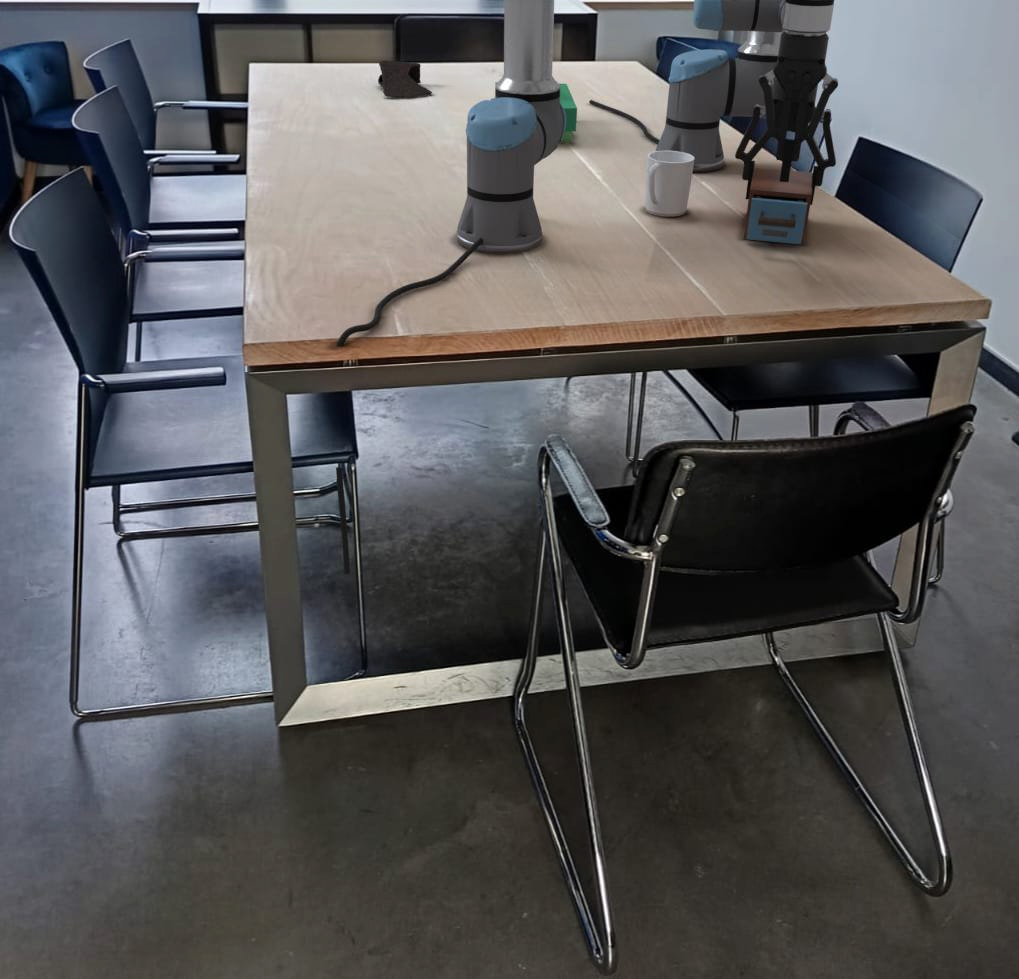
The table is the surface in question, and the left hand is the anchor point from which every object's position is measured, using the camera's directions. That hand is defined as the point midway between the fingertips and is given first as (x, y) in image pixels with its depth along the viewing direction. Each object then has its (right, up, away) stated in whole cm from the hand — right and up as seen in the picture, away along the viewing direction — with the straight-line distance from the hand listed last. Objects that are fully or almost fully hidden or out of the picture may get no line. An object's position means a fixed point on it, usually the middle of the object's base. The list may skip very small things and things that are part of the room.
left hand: (784, 179), depth 187 cm
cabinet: (+3, -4, +17) cm, 18 cm away
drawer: (+1, -7, +12) cm, 14 cm away
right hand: (+4, +1, +19) cm, 19 cm away
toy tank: (-41, +35, +80) cm, 97 cm away
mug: (-17, +1, +25) cm, 30 cm away
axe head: (-76, +56, +113) cm, 148 cm away
